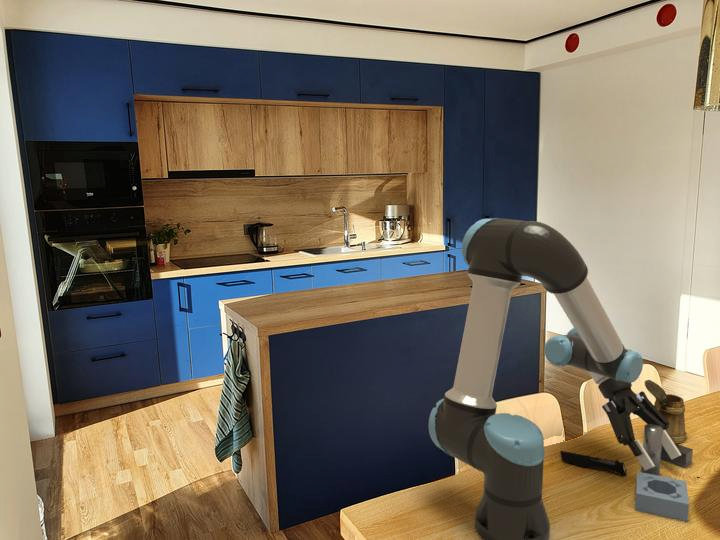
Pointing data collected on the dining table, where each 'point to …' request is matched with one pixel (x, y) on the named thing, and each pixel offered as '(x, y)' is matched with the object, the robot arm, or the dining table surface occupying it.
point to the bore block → (662, 496)
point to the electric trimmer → (594, 462)
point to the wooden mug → (669, 411)
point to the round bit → (653, 447)
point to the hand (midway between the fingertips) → (663, 462)
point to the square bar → (680, 460)
